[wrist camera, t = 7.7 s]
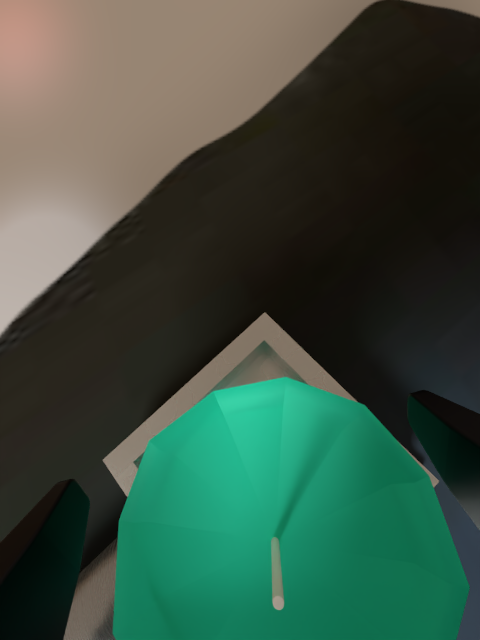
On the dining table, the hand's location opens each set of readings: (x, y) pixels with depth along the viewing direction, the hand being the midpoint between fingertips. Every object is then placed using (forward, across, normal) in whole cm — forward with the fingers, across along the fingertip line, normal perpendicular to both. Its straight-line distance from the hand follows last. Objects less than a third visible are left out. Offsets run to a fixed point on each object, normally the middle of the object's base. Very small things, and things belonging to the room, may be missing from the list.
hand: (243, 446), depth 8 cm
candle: (+5, 0, +7) cm, 8 cm away
